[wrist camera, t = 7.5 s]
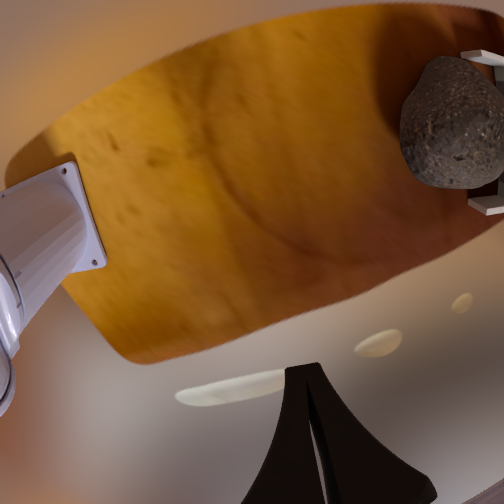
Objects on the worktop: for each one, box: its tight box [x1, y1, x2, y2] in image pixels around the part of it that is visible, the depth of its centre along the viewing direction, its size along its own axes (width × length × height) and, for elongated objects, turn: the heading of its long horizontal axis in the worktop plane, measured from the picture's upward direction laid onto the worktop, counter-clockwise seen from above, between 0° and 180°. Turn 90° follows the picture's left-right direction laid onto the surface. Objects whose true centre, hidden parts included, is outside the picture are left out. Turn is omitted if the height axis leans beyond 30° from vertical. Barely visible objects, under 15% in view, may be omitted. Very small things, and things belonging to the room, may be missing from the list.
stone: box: [400, 56, 504, 189], centre depth 15 cm, size 10×8×10 cm
